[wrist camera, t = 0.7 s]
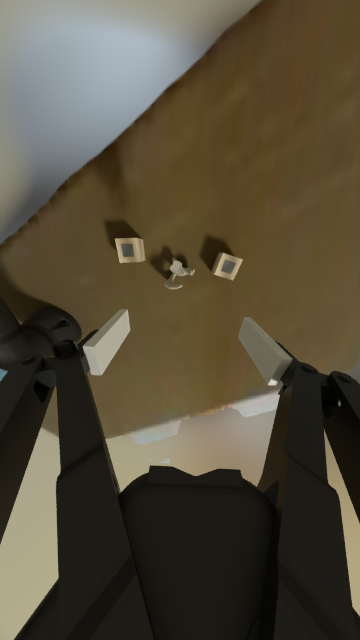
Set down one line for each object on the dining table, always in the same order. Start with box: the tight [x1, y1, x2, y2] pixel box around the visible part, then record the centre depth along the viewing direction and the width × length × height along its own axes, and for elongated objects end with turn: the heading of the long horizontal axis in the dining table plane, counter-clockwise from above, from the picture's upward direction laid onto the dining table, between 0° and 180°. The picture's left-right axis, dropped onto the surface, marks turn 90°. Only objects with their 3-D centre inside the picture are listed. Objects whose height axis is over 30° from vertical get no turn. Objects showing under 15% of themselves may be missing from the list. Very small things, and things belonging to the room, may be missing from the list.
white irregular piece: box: [163, 257, 195, 289], centre depth 35 cm, size 9×6×10 cm
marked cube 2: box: [115, 238, 145, 263], centre depth 34 cm, size 5×5×5 cm
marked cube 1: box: [211, 252, 242, 280], centre depth 35 cm, size 5×5×5 cm
